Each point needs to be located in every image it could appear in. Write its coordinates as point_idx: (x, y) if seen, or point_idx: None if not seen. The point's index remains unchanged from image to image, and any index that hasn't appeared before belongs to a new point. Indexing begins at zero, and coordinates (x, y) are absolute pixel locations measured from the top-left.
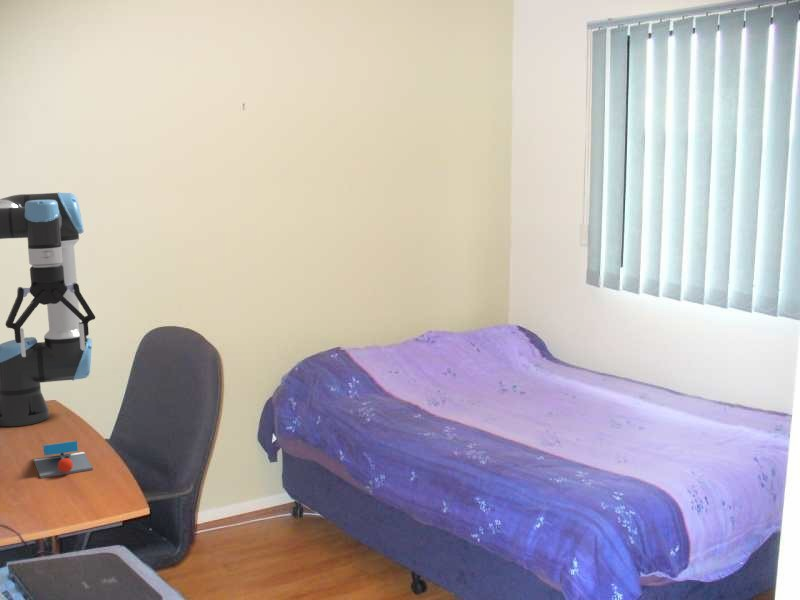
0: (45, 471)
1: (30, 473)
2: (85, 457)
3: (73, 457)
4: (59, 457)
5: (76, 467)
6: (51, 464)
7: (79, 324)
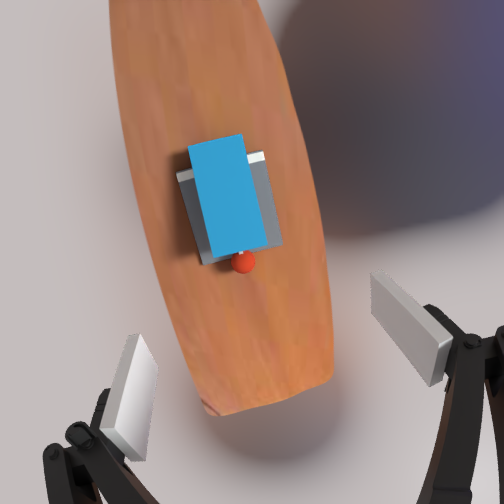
0: (207, 245)
1: (182, 234)
2: (268, 185)
3: None
4: None
5: None
6: None
7: (430, 368)
